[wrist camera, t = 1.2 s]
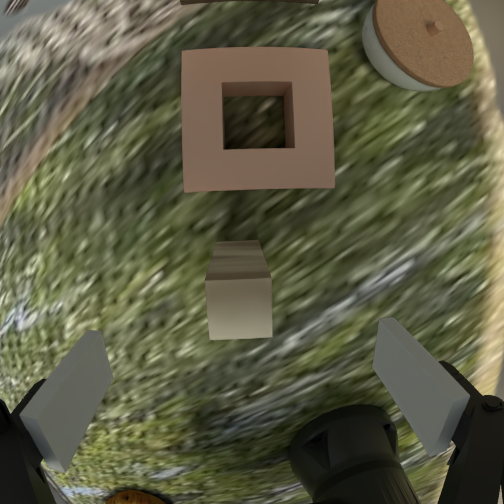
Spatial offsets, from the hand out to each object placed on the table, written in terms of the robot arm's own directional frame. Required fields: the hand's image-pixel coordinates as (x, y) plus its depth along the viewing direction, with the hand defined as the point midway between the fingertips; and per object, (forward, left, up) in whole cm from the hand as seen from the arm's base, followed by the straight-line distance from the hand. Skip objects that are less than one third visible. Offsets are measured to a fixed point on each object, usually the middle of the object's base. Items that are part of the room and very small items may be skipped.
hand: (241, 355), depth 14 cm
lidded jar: (+21, -17, -18) cm, 33 cm away
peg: (0, 0, -18) cm, 18 cm away
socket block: (+13, -2, -18) cm, 22 cm away
